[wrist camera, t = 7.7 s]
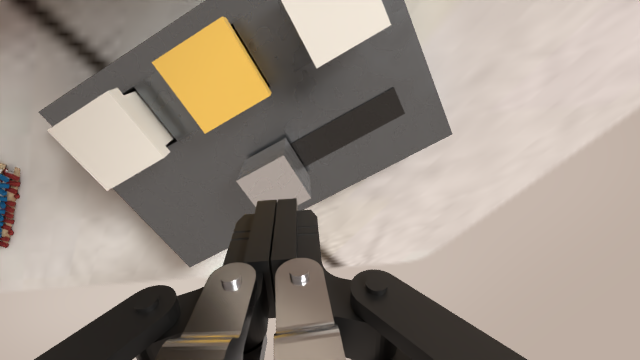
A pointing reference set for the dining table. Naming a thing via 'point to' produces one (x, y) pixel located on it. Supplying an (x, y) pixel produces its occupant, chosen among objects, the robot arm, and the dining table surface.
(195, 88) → the button mid
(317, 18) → the button right
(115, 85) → the panel
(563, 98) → the dining table surface
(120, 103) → the button left
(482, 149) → the dining table surface
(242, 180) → the brushed metal cube
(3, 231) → the woven mat
